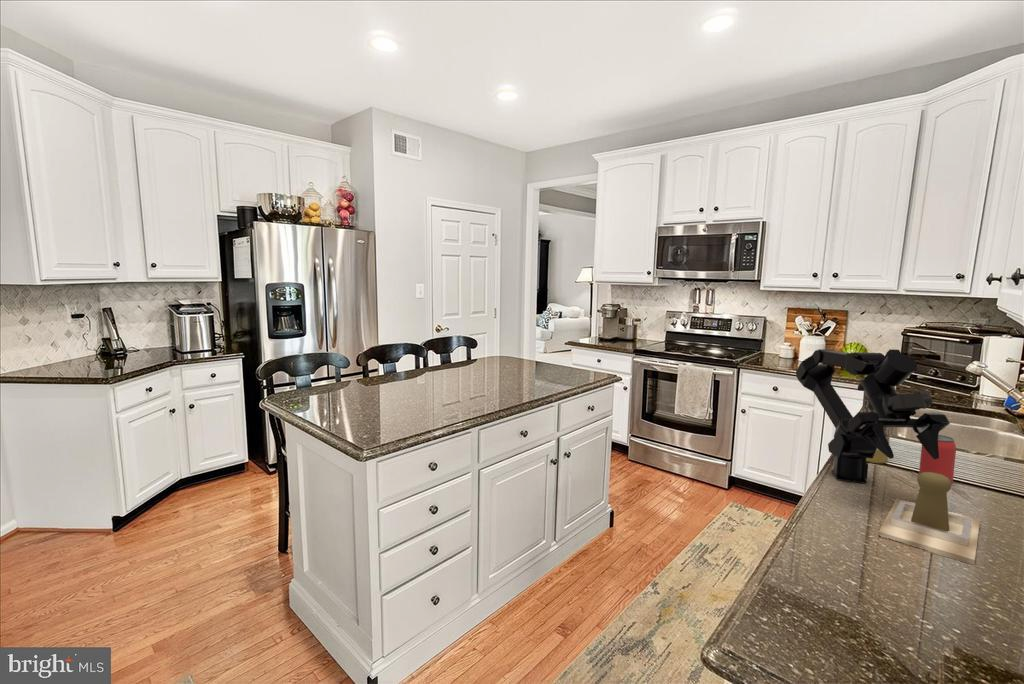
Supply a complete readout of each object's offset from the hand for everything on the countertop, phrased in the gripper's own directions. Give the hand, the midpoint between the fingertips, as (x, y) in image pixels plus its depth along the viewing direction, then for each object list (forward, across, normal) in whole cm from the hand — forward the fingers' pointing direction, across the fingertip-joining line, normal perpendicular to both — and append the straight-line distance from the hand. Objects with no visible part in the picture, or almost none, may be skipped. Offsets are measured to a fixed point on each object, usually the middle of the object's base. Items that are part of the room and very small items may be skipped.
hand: (914, 458), depth 103 cm
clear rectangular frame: (+14, 0, +5) cm, 14 cm away
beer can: (-5, +21, +24) cm, 32 cm away
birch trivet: (+14, 0, +5) cm, 14 cm away
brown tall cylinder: (-15, +15, +35) cm, 41 cm away
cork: (+13, 0, +4) cm, 14 cm away
